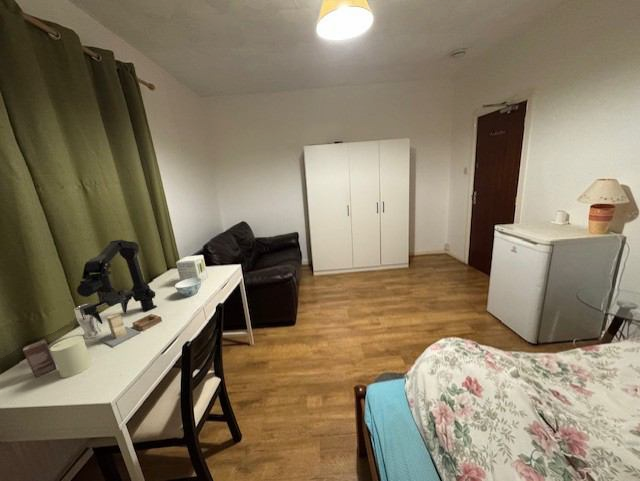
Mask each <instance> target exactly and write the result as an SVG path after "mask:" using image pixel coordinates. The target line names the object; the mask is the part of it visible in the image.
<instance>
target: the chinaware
mask: <svg viewBox="0 0 640 481" xmlns="http://www.w3.org/2000/svg"><path fill="white" fill-rule="evenodd" d="M201 286H202V283H201V278H190V279H186V280H183V281H178V282H176V283H175V285H174V287H175V290H176V291H177V292H178V293H180V294H182V295H184V296H186V297H191V296H194V295H196V294H197V292H198V291H199V290H200V288H201Z"/></svg>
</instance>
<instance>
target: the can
mask: <svg viewBox="0 0 640 481" xmlns="http://www.w3.org/2000/svg"><path fill="white" fill-rule="evenodd" d="M49 349H50V352H51V354H52V357H53V359H54V361H55V363H56V367H57V369H58V371H59V375H60V378H63V379H66V378H71V377H73V376H76V375H79V374H81V373H82V372H84V371H86V370H88V368H90V367H91V366H92V365H93V360H92V359H91V356H90V353H89V351H88V348H87V346H86V343H85V340H84V337H83V335H74V336H70V337H68V338H65V339H63V340H60V341H59V342H57V343H55V344H53V345H52V346H51V347H50V348H49Z"/></svg>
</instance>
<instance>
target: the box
mask: <svg viewBox="0 0 640 481" xmlns="http://www.w3.org/2000/svg"><path fill="white" fill-rule="evenodd" d="M50 349H51V348H49V345H48V342H47V340H46V339H41V340H39V341H37V342H33V343H31V344H29V345H26V346H24V347H23V348H22V352H23V354H24V356H25V358H26V361H27V362H28V365H29V367H30V370H31V372H32V373H33V375H34V378H38V377H40V376H44V375H45V374H47V373H50V372H52V371H54V370H57V369H58V367H57V364H56V362H55V359H54V357H53V354H52V352H51V351H50Z"/></svg>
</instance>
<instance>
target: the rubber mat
mask: <svg viewBox="0 0 640 481" xmlns="http://www.w3.org/2000/svg"><path fill="white" fill-rule="evenodd" d="M124 327H125V330H126V333H127V334H125V335H123V336H121V337H119V338H117V339H116V338H114V337H113V336H112V333H111V332H110V333H108V334H106V335H104V336H102V337H100V338H98V340H99V341H100V342H102V343H104V344H106V345H108V346H110V347H112V348H115V347H117V346H118V345H120V344H122V343H124V342H126V341H128V340H130V339H132V338H134V337H135V336H137V335H140V334H141V331H139V330H137V329H134V328H131V327H129V326H125V325H124Z"/></svg>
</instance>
